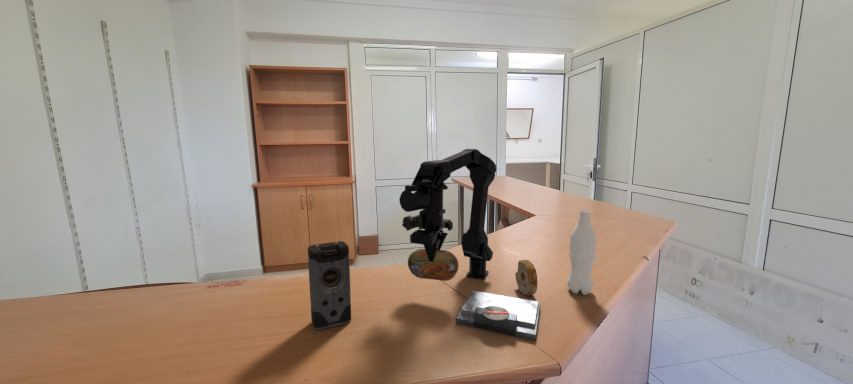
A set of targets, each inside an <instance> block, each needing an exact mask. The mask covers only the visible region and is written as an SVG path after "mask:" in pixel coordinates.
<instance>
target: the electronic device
mask: <svg viewBox="0 0 853 384" xmlns="http://www.w3.org/2000/svg"><path fill="white" fill-rule="evenodd" d="M349 247H350V246H349V245H348V244H347V243H346V242H345V241H343V240H342V241H339V240H338V241H331V242H326V243H325V242H323V243H319V244H310V245H309V246H308V247H307V259H308V261H307V263H308V278H309V279H308V281H309V299H310V300H309V301H310V313H311V318H310V319H311V325H312V328H313V329H315V331H322V330H326V329H330V328H333V327H339V326H343V325H346V324H349V323H350V322H351V320H352V305H351V303H352V302H351V271H350V268H351V266H350V251H349V249H350V248H349Z"/></svg>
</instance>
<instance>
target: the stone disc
mask: <svg viewBox="0 0 853 384" xmlns="http://www.w3.org/2000/svg"><path fill="white" fill-rule="evenodd" d="M514 276H515V281H516V284H517V287H518V289H519V290H520V292H521V294H522V295H524V296H532V295H535V294H536V293H537V291H538V275H537V269H536V267H535V265H534V263H532V261H531V260H527V259H521V260H520V259H519V261H518V263H517V271H516V272H515V275H514Z"/></svg>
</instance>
